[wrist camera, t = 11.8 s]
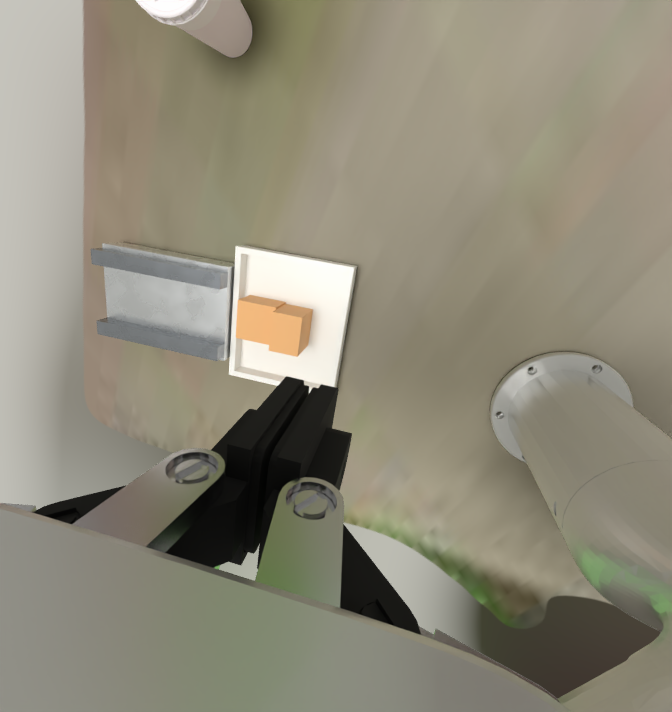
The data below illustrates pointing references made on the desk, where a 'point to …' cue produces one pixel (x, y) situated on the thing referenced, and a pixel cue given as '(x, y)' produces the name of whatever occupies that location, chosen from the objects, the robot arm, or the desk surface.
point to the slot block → (167, 299)
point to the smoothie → (207, 21)
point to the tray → (299, 288)
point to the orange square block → (290, 329)
